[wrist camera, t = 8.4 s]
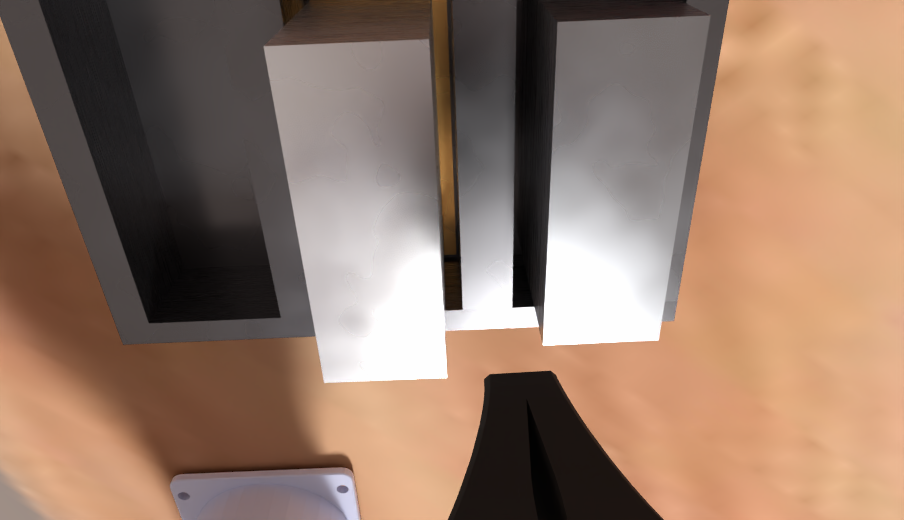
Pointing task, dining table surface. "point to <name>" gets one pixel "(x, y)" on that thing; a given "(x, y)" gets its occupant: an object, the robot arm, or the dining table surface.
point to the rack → (460, 149)
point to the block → (365, 182)
